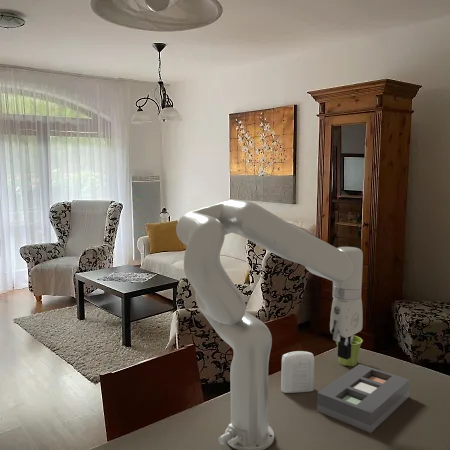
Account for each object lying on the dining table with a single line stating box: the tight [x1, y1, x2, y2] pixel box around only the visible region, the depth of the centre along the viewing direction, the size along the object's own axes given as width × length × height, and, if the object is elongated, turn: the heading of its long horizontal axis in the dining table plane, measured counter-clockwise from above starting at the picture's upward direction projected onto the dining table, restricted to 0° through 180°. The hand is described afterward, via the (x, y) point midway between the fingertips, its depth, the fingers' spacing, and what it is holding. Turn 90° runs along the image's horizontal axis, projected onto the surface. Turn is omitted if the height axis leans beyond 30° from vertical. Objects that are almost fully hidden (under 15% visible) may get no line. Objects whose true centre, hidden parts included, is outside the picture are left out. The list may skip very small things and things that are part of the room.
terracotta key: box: [369, 376, 386, 384], centre depth 138 cm, size 6×6×2 cm
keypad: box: [316, 363, 411, 434], centre depth 133 cm, size 25×16×6 cm, turn 137°
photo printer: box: [280, 350, 315, 394], centre depth 141 cm, size 10×4×12 cm, turn 98°
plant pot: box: [335, 335, 364, 367], centre depth 160 cm, size 9×9×9 cm
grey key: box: [353, 382, 377, 394], centre depth 133 cm, size 6×6×2 cm
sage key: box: [342, 396, 361, 405], centre depth 127 cm, size 6×6×2 cm
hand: (344, 357), depth 127 cm, fingers closed
